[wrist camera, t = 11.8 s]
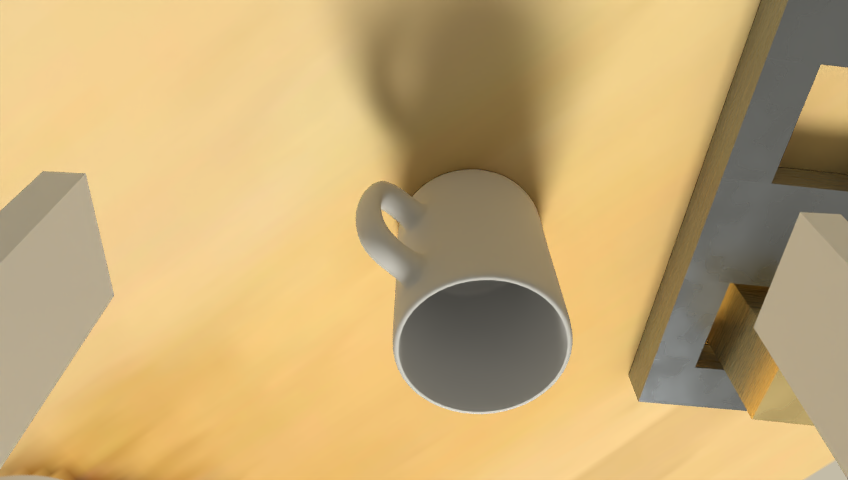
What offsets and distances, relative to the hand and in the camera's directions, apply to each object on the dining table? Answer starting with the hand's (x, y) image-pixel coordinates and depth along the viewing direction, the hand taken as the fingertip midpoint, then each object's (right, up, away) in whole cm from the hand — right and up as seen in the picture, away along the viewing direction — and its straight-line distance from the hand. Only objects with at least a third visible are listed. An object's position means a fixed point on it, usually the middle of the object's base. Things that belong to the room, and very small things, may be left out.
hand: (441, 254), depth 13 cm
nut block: (+20, -4, +31) cm, 37 cm away
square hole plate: (+21, +1, +28) cm, 35 cm away
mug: (+1, +2, +28) cm, 28 cm away
